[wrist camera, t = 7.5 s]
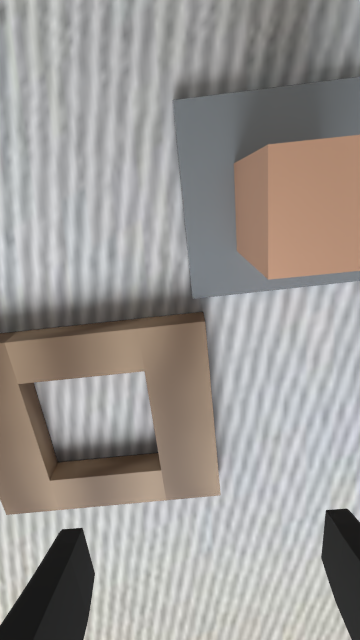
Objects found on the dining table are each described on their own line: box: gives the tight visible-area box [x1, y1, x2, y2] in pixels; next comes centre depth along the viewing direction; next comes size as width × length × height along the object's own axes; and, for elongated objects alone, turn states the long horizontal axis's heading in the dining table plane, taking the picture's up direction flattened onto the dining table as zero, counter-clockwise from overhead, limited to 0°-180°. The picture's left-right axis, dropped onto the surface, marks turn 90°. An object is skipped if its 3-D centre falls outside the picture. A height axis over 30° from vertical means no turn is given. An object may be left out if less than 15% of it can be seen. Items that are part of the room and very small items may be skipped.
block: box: [234, 135, 360, 280], centre depth 13 cm, size 4×4×6 cm
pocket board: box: [0, 312, 220, 515], centre depth 20 cm, size 14×12×2 cm
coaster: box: [173, 77, 360, 299], centre depth 16 cm, size 9×9×1 cm
